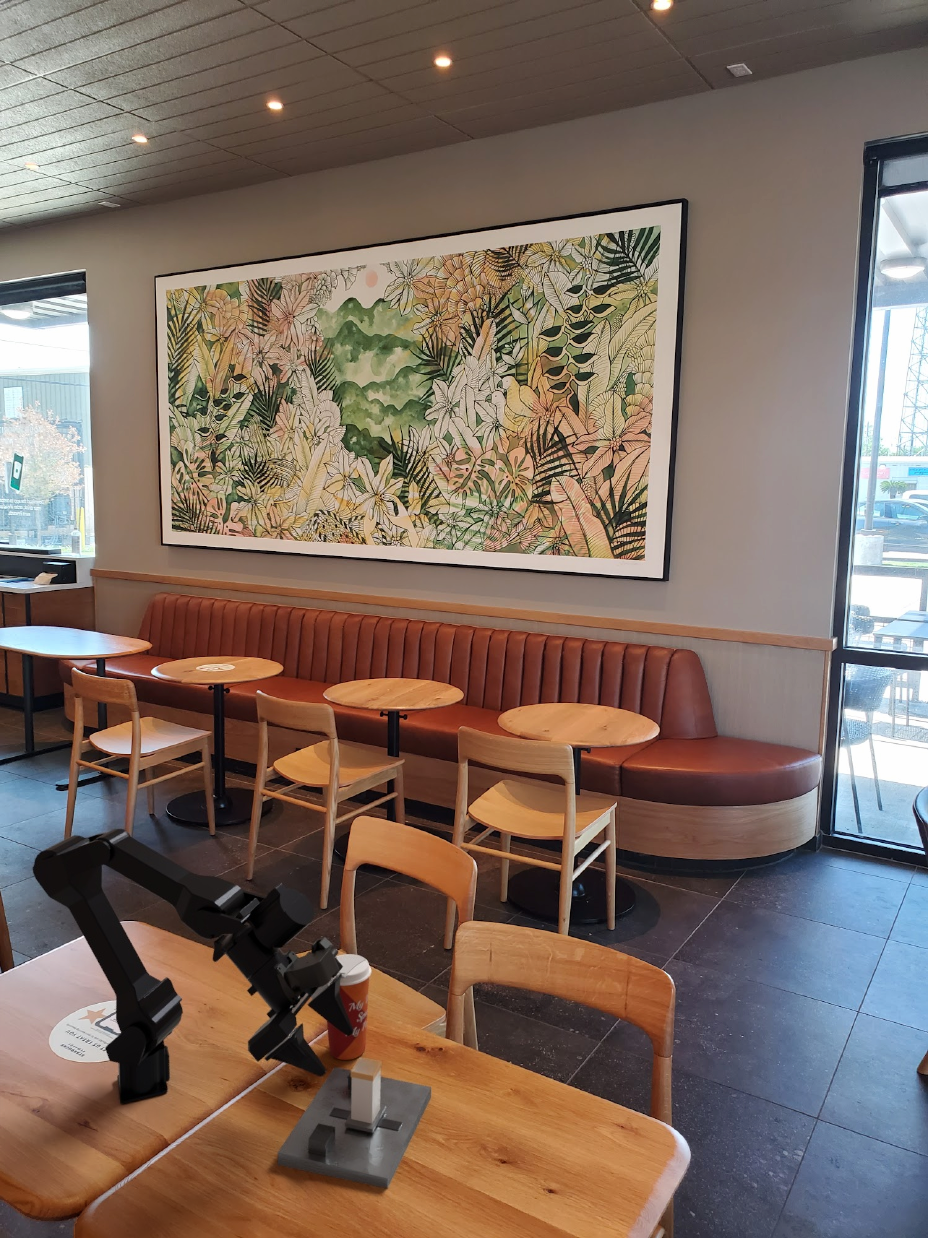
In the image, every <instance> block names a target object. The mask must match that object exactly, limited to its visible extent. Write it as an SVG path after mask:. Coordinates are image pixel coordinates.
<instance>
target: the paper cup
mask: <svg viewBox="0 0 928 1238" xmlns="http://www.w3.org/2000/svg"><path fill="white" fill-rule="evenodd" d="M336 959H337V960H338V961H339V962H340V963H341V964H342V966H343V967H342V969H341V970H340V971H339V973H338V974H337V975H336V976H335V978H336V977H337V976H338V975H339V974H340V973H342V978H341V980H340V988H339V992H340V996H341V999H342V1002H343V1005H344V1007H345V1010H346V1012H347V1015H348V1017H349V1020H350V1022H351V1025H352V1027H353V1030H354V1032H353V1033H352V1034H351V1035H350V1036H347V1035H345V1034H344V1033H342V1032H341V1031H339V1030H338V1029H337V1028H336V1027H334V1026H333V1025H332V1024H331V1023H329V1022H328V1021H327V1020H326V1026H327V1027H326V1028H327V1039H328V1049H329V1054H330V1055H331V1056H332V1057H333V1058H334V1059H337V1060H341V1061H342V1060H343V1061H347V1060H348V1061H349V1060H350V1061H351V1060H355V1059H356V1058H357V1059H358V1057H361V1055H363V1054H364V1052H365V1050H366V1045H367V1028H368V1008H369V1007H368V1006H369V988H370V976H371V975H372V968H371V966H370V965H369V961H368V960H367V959H366V958H365V957H363V956H362V955H359V954H353V953H352V954H351V953H349V954H348V953H346V954H340V955H337V956H336Z"/></svg>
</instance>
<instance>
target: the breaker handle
mask: <svg viewBox="0 0 928 1238" xmlns="http://www.w3.org/2000/svg"><path fill="white" fill-rule="evenodd" d="M382 1065H383V1062H382V1060H377V1059H376V1060H375V1059H371V1058H367V1057H361V1056H359V1058H357V1060H356V1062H355V1064H354V1066H353V1067H352V1069H351V1077H352V1092H351V1114H350V1115H349V1117H348V1119H347V1120H346V1122H345V1127H349V1128H353V1129H358V1130H362V1131H367V1132H371V1133H373V1132H374V1130H375V1128H376V1126H377V1124H378V1122H379V1120H380V1119H381V1117H382V1115H383V1113H384V1111H385V1109H386V1105H384V1104H380V1081H381V1077H382V1076H381V1075H382V1074H381V1073H382V1072H381V1071H382V1070H381V1069H382Z"/></svg>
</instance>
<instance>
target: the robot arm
mask: <svg viewBox="0 0 928 1238" xmlns="http://www.w3.org/2000/svg"><path fill="white" fill-rule="evenodd" d="M103 866H106V867H108V868H109V869H111V870H112V871H115V872H116V873H118V874H120V875H121V876H123V877H125V878H126V879H128V880H129V881H131V882H133V883H135V884H137V885H138V886H139V887H141V888H143V889H145V890H146V891H147V892H149V893H151V894H153V895H154V896H156V897H158V898H160V899H161V900H163V901H165V902H166V903H168V904H169V905H171V906H172V908H174V909H175V911H176V912H177V915H178V917H179V919H180V921H181V922H182V923H183V924H185V926H186V927H188V928H189V929H190V930H191V931H192V932H194V933H195V934H196V935H198V936H199V937H200V938H202V939H205V940H211V941H212V939H215V940H214V941H213V952H212V953H213V954H212V961H213V962H214V963H217V962H218V961H219V960H221V958H223V957H224V956H225V955H226V956H227V957H228V958H229V960H230V961H231V962H232V963H233V965H234V966H235V967H236V968H237V969H238V971H239V972H240V973H241V974H242V975H243V976H244V978H245V979H246V981H247V982H248V983H249V984H250V985H251V986H250V987H248V988H247V989H246V992H247V993H248V994H249V995H250V996H251V997H252V996H254V995H255V994H256V993H257V994H258V995H259V996H260V997H261V999H262V1000H263V1001H264V1002H265V1003H266V1005H268V1007H269V1008H270V1009H269V1011H268V1012H267V1013H266V1015H267V1016H268V1018H269V1019H268V1020H266V1021H265V1023H263V1024H262V1025H261V1026H259V1028H258V1029H257V1030H256V1031H255V1032H254V1034H253V1035H252V1036H251V1037H250V1038H249V1040H248V1041H247V1051H248V1053H249V1054H250V1055H251V1056H252V1057H253V1059H254V1060H255V1061H256V1062H257V1063H258V1062H260V1061H261V1060H262V1059H263V1058H264V1060H265V1061H266V1062H268V1061H270V1060H273V1061H274V1060H275V1061H277V1062H281V1063H285V1064H287V1065H291V1066H293V1067H296V1068H298V1069H301V1070H303V1071H305V1072H308V1073H311V1074H313V1075H315V1076H317V1077H323V1076H324V1075H325V1074H326V1073H327V1069H326V1067H325V1065H324V1064H323V1062H322V1061H321V1059H320V1058H319V1056H318V1055H317V1054H316V1053H315V1051H314V1050H313V1048H312V1047H311V1046H310V1045H309V1043H308V1041H307V1040H306V1039H305V1035H304V1024H303V1022H302V1023H300V1024H299V1025H298V1021H297V1015H298V1014H299V1012H300V1011H301V1010H302V1009H303V1008H304V1006H305V1005H306V1004H307V1007H308V1008H310V1009H311V1010H313V1011H314V1012H316V1013H317V1014H318V1015H320V1017H322V1018H323V1019H324V1020H326V1022H327V1021H328V1022H329V1023H331V1024H332V1025H333V1026H334V1027H336V1028H337V1029H338V1030H339V1031H341V1032H342V1033H344V1034H345V1035H347V1036H350V1035H351V1034H352V1033H353V1032H354V1030H353V1027H352V1025H351V1022H350V1020H349V1017H348V1015H347V1012H346V1010H345V1007H344V1005H343V1002H342V999H341V996H340V992H339V988H340V980H341V978H342V973H340V974H339V975H338V976H337V977H336V978H335V976H336V975H337V974H338V973H339V971H340V970H341V969H342V967H343V966H342V964H341V963H340V962H339V961H338V960H337V959H336V956H338V954H339V950H338V949H337V948H335V945H334V944H333V943H332V942H331V941H330V940H328V939H327V937H325V936H323V937H320V938H318V939H316V940H315V941H314V942H313V943H312V945H311V948H310V949H311V950H310V951H308V952H307V953H306V954H305V955H303V956H298V955H297V954H296V953H295V952H294V951H292V950H290V949H289V950H288V951H286V953H284V951H283V950H281V949H282V948H283V947H286V946H287V944H288V943H290V942H291V941H292V940H293V939H294V938H295V937H296V936H298V934H300V933H302V931H304V930H305V928H307V927H308V926H309V925H310V924H312V922H313V921H314V919H315V910H314V907H313V904H312V902H311V901H310V899H309V897H308V896H307V895H306V894H305V893H302V892H300V891H299V890H297V889H295V888H287V887H286V886H285V884H283V882H279V883H278V884H277V885H275V887H273V888H272V889H271V890H270V891H269V892H268V893H267V895H266V896H265V895H261V894H258V893H255V892H251V891H248V890H244V889H242V888H241V887H240V886H239V885H237V884H236V883H233V882H230V881H229V880H225V879H223V878H220V877H217V876H213V875H205V874H204V875H203V874H201V875H200V874H196V873H195V872H192V871H190V870H189V869H186V868H185V867H183V866H181V865H179V864H178V863H176V862H175V861H173V860H171V859H169V858H168V857H166V856H164V855H163V854H161V853H159V852H157V851H155V850H154V849H152V848H151V847H149V846H148V845H146V844H143V842H140V840H137V839H136V838H133V837H132V836H131V834H130V833H129V831H127V830H126V829H123V828H114V829H111V830H109V831H107V832H100V833H97V834H94V835H91V836H87V837H86V836H85V837H84V836H82V835H71V836H69V837H67V838H65V839H63V840H61V841H59V842H58V843H55V844H53V845H51V846H49V847H48V848H45V849H44V850H42V851H40V852H39V853H38V854H37V855H36V856H35V858H34V863H33V866H32V873H33V876H34V878H35V880H36V882H37V883H38V884H39V885H40V887H41V888H42V890H43V891H44V892H45V894H46V895H47V896H48V897H49V898H50V899H52V900H54V901H55V902H57V903H59V904H60V905H62V906H65V907H66V908H67V909H68V910H69V911H70V913H71V915H72V917H73V919H74V922H75V923H76V924H77V926H78V928H79V930H80V931H81V933H82V935H83V937H84V939H85V941H86V943H87V945H88V947H89V949H90V950H91V952H92V954H93V956H94V957H95V959H96V961H97V963H98V965H99V967H100V969H101V970H102V972H103V974H104V975H105V978H106V980H107V981H108V983H109V985H110V986H111V988H112V990H113V992H114V994H115V998H116V999H115V1020H116V1023H117V1027H118V1028H119V1029H118V1030H119V1032H120V1034H119V1035H118V1036H116V1037H115V1038H114V1039H112V1041H110V1042H109V1043H108V1044H107V1045H106V1046H105V1047H104V1048H105V1051H106V1055H107V1057H108V1060H109V1061H110V1062H112V1063H117V1064H118V1066H117V1069H118V1074H117V1075H116V1076H117V1077H116V1078H117V1079H116V1080H117V1088H118V1089H117V1090H118V1097H119V1103H120V1104H122V1105H124V1104H127V1103H132V1102H136V1101H137V1102H138V1101H140V1100H145V1099H148V1098H152V1097H156V1096H161V1095H165V1094H167V1093H168V1092H169V1090H168V1089H169V1088H168V1082H169V1081H170V1080H171V1077H170V1075H171V1074H170V1072H171V1071H170V1070H171V1068H170V1065H171V1064H170V1053H169V1048H168V1047H169V1046H167V1045H165V1041H164V1040H165V1039H167V1037H168V1036H170V1035H172V1033H173V1030H175V1028H176V1027H178V1025H179V1024H180V1022H181V1021H182V1016H183V1014H184V1011H183V1006H182V1003H181V1002H182V1000H183V997H181V996H180V995H179V994H178V992H177V991H176V989H175V987H174V985H173V982H172V980H171V979H170V978H169V977H165V978H164V979H162V980H160V979H158V978H156V977H154V976H152V975H151V974H149V971H147V969H146V967H145V965H144V964H143V961H142V960H141V957H140V956H139V954H138V952H137V951H136V949H135V947H134V945H133V944H132V943H133V942H132V941H131V940H130V939H131V938H130V937H129V936H128V934H127V932H126V931H125V928H124V927H123V924H122V923H121V921H120V919H119V917H118V916H117V914H116V912H115V909H114V908H113V906H112V905H111V903H110V901H109V899H108V897H107V896H106V893H105V891H104V889H103V886H102V884H103ZM246 923H248V924H246ZM309 1000H310V1001H309ZM307 1002H308V1003H307Z"/></svg>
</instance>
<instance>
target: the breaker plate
mask: <svg viewBox="0 0 928 1238" xmlns="http://www.w3.org/2000/svg"><path fill="white" fill-rule="evenodd" d="M351 1070H352V1069H351ZM351 1070H350V1069H346V1068H341V1067H338V1066H337V1067H336V1066H334V1067H333V1069H332V1070H331V1072H330V1073H329V1075H328V1076H327V1078H326V1079H325V1081H324V1082H323V1084H322V1085H321V1087H320V1088H319V1089H318V1091H317V1093H316V1094H315V1095H314V1097H313V1098H312V1101H311V1102H310V1103H309V1105H308V1106H307V1107H306V1109H305V1111H304V1112H303V1114H302V1115H301V1117H300V1118H299V1120H298V1121H297V1123H296V1124H295V1126H293V1129H292V1130H291V1132H290V1133H289V1135H288V1136H287V1138H286V1139H285V1141H284V1142H283V1143H282V1146H281V1147H280V1148H279V1150H278V1151H277V1165H278V1166H282V1167H286V1168H289V1169H290V1168H292V1169H295V1170H300V1171H305V1172H308V1173H309V1172H310V1173H314V1174H319V1175H323V1176H328V1177H331V1178H332V1177H333V1178H337V1179H342V1180H347V1181H350V1182H351V1181H352V1182H356V1183H360V1184H364V1185H368V1186H373V1185H374V1187H378V1188H384V1189H388V1188H389V1187H390V1184H391V1182H392V1181H393V1178H394V1176H395V1174H396V1171H397V1170H398V1168H399V1166H400V1164H401V1162H402V1159H403V1157H404V1156H405V1153H406V1151H407V1149H408V1146H409V1144H410V1142H411V1140H412V1139H413V1136H414V1134H415V1132H416V1131H417V1128H418V1125H419V1123H420V1122H421V1119H422V1118H423V1115H424V1114H425V1111H426V1108H427V1106H428V1105H429V1103H430V1101H431V1098H432V1086H428V1085H423V1084H418V1083H413V1082H409V1081H404V1080H400V1079H395V1078H389V1077H385V1076H381V1081H380V1104H384V1105H386V1109H385V1111H384V1113H383V1115H382V1117H381V1119H380V1120H379V1122H378V1124H377V1126H376V1128H375V1130H374V1132H373V1133H371V1132H367V1131H362V1130H358V1129H353V1128H349V1127H345V1122H346V1120H347V1119H348V1117H349V1115H350V1114H351V1092H352V1077H351ZM365 1183H366V1184H365Z"/></svg>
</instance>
